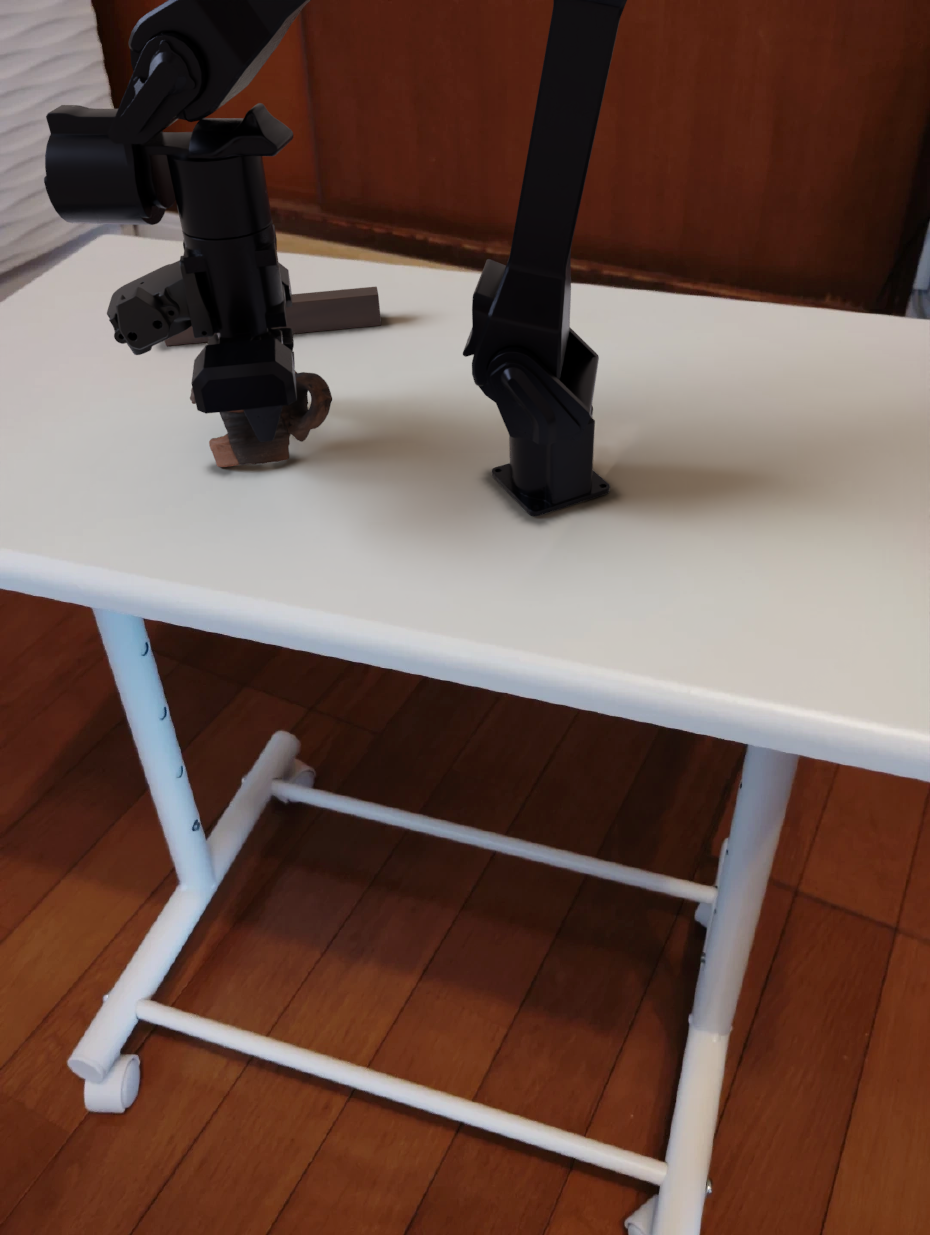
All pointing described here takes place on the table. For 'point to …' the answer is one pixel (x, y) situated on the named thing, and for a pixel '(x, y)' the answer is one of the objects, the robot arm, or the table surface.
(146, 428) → the table surface
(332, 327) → the rail
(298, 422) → the pottery mug
